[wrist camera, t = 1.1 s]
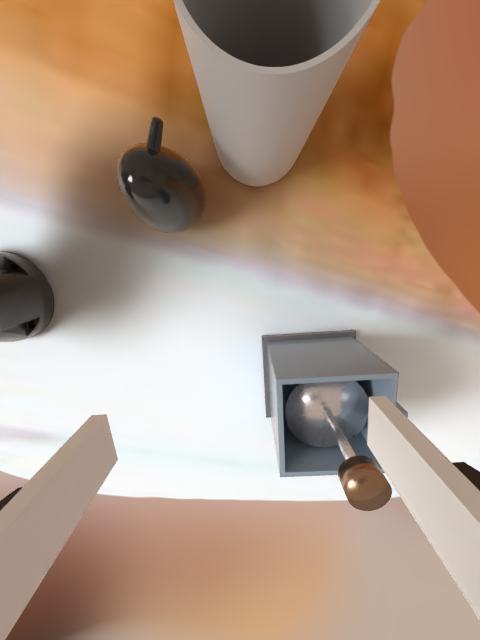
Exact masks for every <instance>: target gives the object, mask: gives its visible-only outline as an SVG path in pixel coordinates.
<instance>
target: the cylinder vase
mask: <svg viewBox="0 0 480 640" xmlns="http://www.w3.org/2000/svg"><path fill="white" fill-rule="evenodd" d="M173 2H174V5H175V9H176V12H177V16H178V19H179V23H180V26H181V30H182V33H183V37H184V40H185V44H186V47H187V50H188V54H189V57H190V61H191V64H192V68H193V71H194V75H195V78H196V82H197V85H198V89H199V92H200V96H201V99H202V103H203V106H204V110H205V113H206V117H207V120H208V124H209V127H210V131H211V134H212V138H213V141H214V145H215V148H216V152H217V155H218V158H219V160H220V162H221V164H222V166H223V167H224V169H225V170H226V171H227V173H228V174H229V175H230V176H231V177H233V178H234V179H235V180H237V181H239V182H240V183H243V184H245V185H249V186H266V185H269V184H272V183H274V182H276V181H278V180H279V179H281V178H282V177H283V176H285V175H286V174H287V173H288V172H289V170H290V169H291V168H292V166H293V165H294V163H295V162H296V160H297V158H298V156H299V154H300V152H301V150H302V148H303V146H304V144H305V142H306V141H307V139H308V137H309V135H310V133H311V131H312V129H313V127H314V125H315V123H316V122H317V120H318V118H319V116H320V114H321V112H322V110H323V108H324V106H325V104H326V103H327V101H328V99H329V97H330V95H331V93H332V91H333V89H334V87H335V85H336V83H337V82H338V80H339V78H340V76H341V74H342V72H343V70H344V68H345V66H346V64H347V63H348V61H349V59H350V57H351V55H352V53H353V51H354V49H355V47H356V45H357V43H358V42H359V40H360V38H361V36H362V34H363V32H364V30H365V28H366V26H367V24H368V23H369V21H370V19H371V17H372V15H373V13H374V11H375V9H376V7H377V5H378V3H379V2H380V0H173Z"/></svg>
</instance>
